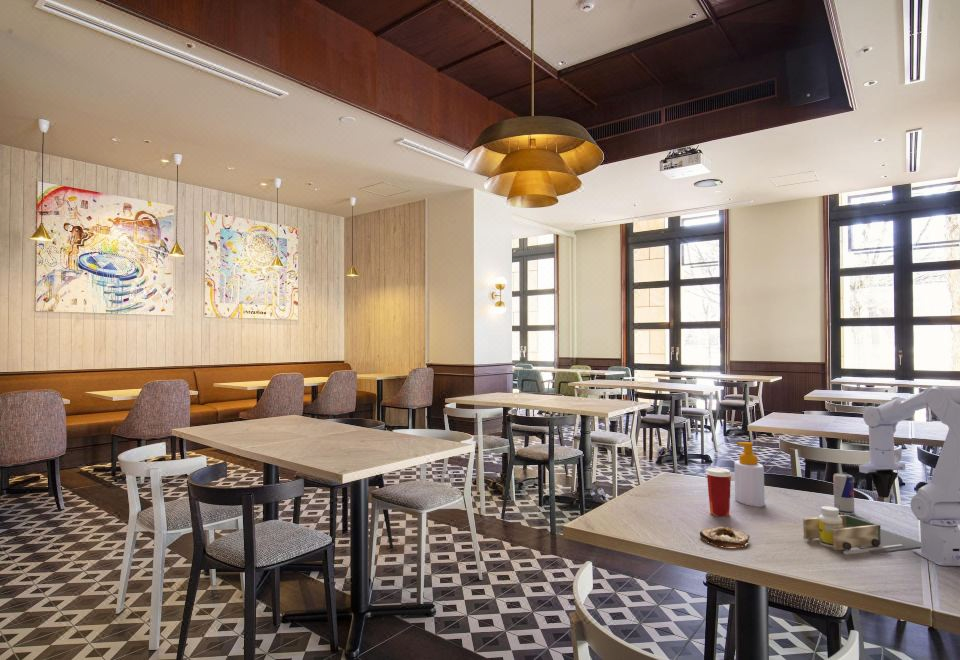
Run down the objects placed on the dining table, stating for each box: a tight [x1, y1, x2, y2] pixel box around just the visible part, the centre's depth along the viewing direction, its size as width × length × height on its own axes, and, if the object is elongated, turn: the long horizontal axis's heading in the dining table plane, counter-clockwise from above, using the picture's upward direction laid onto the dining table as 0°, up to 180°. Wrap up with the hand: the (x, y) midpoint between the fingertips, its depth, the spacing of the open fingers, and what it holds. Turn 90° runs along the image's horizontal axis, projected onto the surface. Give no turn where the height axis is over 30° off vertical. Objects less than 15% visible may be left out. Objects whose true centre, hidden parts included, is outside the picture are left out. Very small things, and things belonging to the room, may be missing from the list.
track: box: [803, 528, 921, 556], centre depth 148 cm, size 26×16×1 cm, turn 105°
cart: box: [802, 514, 881, 551], centre depth 146 cm, size 15×12×5 cm
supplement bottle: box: [818, 505, 843, 549], centre depth 146 cm, size 5×5×10 cm
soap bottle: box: [733, 441, 766, 508], centre depth 187 cm, size 13×8×20 cm, turn 178°
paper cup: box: [705, 467, 732, 517], centre depth 174 cm, size 8×8×14 cm
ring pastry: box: [699, 526, 751, 548], centre depth 149 cm, size 15×15×4 cm
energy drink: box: [832, 472, 855, 516], centre depth 174 cm, size 5×5×12 cm
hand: (883, 496), depth 154 cm, fingers closed
